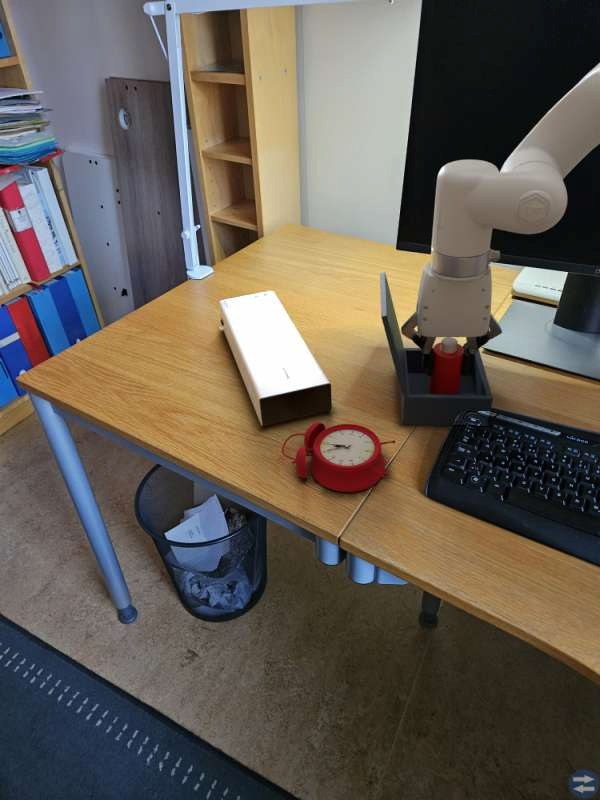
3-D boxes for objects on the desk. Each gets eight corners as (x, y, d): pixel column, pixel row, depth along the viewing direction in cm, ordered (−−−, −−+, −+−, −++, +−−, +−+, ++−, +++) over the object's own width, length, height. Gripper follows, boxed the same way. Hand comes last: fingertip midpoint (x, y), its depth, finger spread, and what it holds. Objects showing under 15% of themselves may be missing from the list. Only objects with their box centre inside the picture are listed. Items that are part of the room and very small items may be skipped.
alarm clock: (386, 482, 71) (276, 443, 73) (374, 512, 75) (269, 474, 77) (400, 430, 78) (300, 396, 80) (388, 460, 83) (293, 427, 84)
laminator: (332, 415, 88) (331, 383, 84) (256, 433, 85) (252, 400, 82) (276, 317, 114) (273, 289, 110) (216, 328, 112) (212, 300, 108)
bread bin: (474, 375, 94) (478, 348, 91) (487, 426, 84) (493, 398, 81) (398, 373, 96) (400, 347, 93) (402, 424, 85) (404, 396, 82)
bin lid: (385, 271, 85) (380, 273, 85) (387, 315, 74) (381, 316, 74) (403, 344, 92) (398, 345, 92) (407, 393, 82) (402, 395, 82)
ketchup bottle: (456, 384, 91) (463, 333, 85) (460, 401, 87) (467, 349, 81) (427, 384, 91) (432, 333, 85) (430, 401, 87) (435, 349, 82)
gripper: (518, 247, 77) (498, 358, 88) (394, 250, 79) (390, 357, 90) (530, 270, 72) (507, 385, 82) (396, 272, 74) (391, 384, 85)
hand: (446, 370), depth 86 cm, fingers closed on ketchup bottle, 4 cm apart
